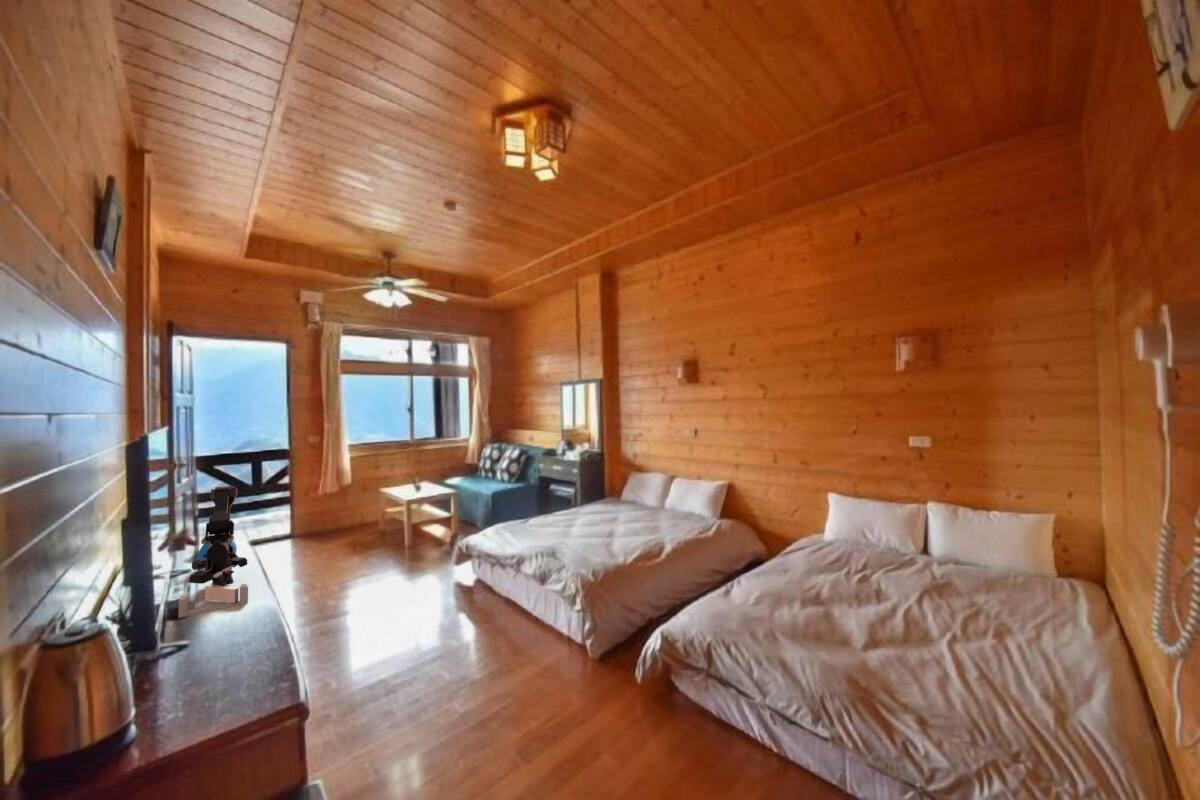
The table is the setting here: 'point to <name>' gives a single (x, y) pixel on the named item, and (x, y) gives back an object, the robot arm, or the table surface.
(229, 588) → the gate
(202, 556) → the alarm clock
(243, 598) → the gate frame
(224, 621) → the table surface
